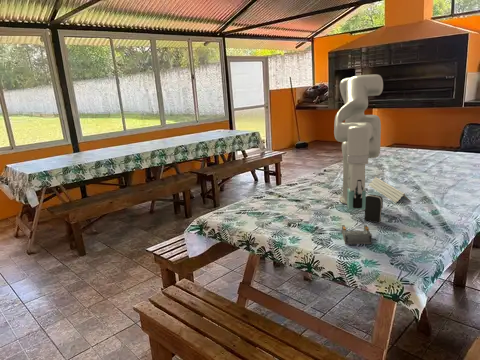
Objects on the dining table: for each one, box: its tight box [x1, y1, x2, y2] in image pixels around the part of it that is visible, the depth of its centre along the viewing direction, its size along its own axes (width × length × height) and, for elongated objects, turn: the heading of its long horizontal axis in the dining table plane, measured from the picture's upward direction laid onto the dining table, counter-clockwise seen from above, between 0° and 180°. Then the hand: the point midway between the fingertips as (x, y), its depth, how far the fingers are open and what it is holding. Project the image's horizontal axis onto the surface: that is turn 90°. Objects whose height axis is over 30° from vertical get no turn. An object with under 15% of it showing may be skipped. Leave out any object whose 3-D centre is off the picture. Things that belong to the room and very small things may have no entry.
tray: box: [341, 224, 373, 245], centre depth 137 cm, size 10×10×4 cm
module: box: [346, 188, 367, 211], centre depth 135 cm, size 4×6×7 cm
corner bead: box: [368, 176, 411, 204], centre depth 186 cm, size 31×9×5 cm, turn 4°
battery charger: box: [363, 193, 384, 224], centre depth 151 cm, size 7×4×11 cm, turn 49°
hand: (356, 205), depth 135 cm, fingers closed on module, 4 cm apart
